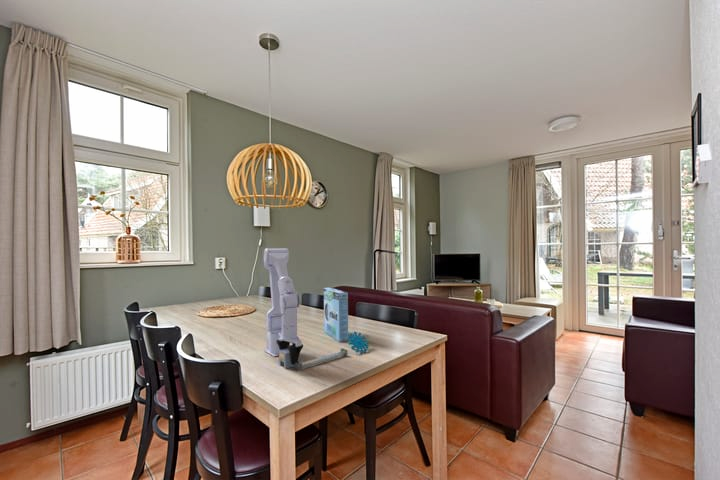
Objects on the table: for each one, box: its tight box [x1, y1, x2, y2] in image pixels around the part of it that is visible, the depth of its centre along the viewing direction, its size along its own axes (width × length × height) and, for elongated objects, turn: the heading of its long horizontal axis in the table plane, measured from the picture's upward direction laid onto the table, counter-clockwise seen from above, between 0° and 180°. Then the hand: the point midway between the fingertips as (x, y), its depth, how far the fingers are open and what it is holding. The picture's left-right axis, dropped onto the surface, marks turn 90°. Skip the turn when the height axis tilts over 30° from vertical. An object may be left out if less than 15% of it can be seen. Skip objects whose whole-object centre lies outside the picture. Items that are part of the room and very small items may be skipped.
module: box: [278, 348, 301, 370], centre depth 120 cm, size 5×6×6 cm
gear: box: [347, 331, 371, 354], centre depth 136 cm, size 11×6×10 cm
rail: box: [294, 348, 348, 371], centre depth 123 cm, size 3×22×2 cm, turn 131°
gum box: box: [323, 287, 349, 343], centre depth 157 cm, size 20×5×23 cm, turn 28°
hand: (289, 360), depth 120 cm, fingers open, 7 cm apart
